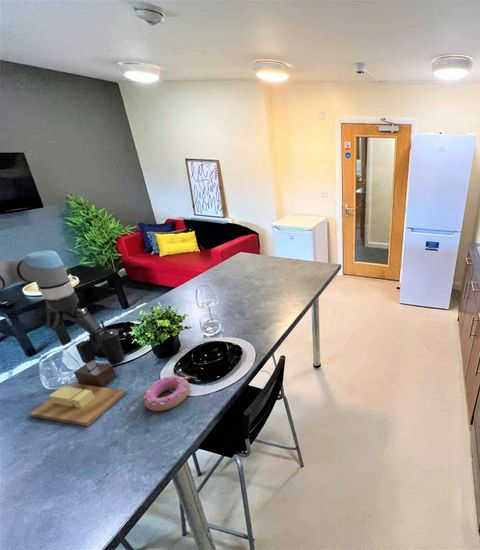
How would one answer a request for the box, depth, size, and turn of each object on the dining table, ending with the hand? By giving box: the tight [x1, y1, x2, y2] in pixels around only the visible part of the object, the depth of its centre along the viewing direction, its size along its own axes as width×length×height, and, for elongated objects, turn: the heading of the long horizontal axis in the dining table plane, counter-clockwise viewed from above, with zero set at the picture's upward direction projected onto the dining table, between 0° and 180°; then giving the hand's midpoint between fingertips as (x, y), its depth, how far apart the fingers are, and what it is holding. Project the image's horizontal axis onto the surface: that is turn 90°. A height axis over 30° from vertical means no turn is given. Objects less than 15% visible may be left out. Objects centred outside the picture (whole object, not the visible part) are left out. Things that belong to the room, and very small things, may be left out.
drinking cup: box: [99, 320, 125, 365], centre depth 120 cm, size 8×8×20 cm
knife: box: [74, 340, 98, 372], centre depth 110 cm, size 2×3×18 cm
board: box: [29, 382, 126, 427], centre depth 103 cm, size 22×14×2 cm, turn 82°
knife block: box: [73, 362, 117, 388], centre depth 113 cm, size 10×6×6 cm, turn 82°
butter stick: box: [48, 385, 83, 406], centre depth 103 cm, size 8×5×4 cm, turn 82°
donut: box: [141, 375, 190, 412], centre depth 107 cm, size 14×14×5 cm
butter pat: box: [72, 390, 95, 408], centre depth 102 cm, size 3×5×4 cm, turn 172°
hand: (83, 345), depth 107 cm, fingers open, 13 cm apart
